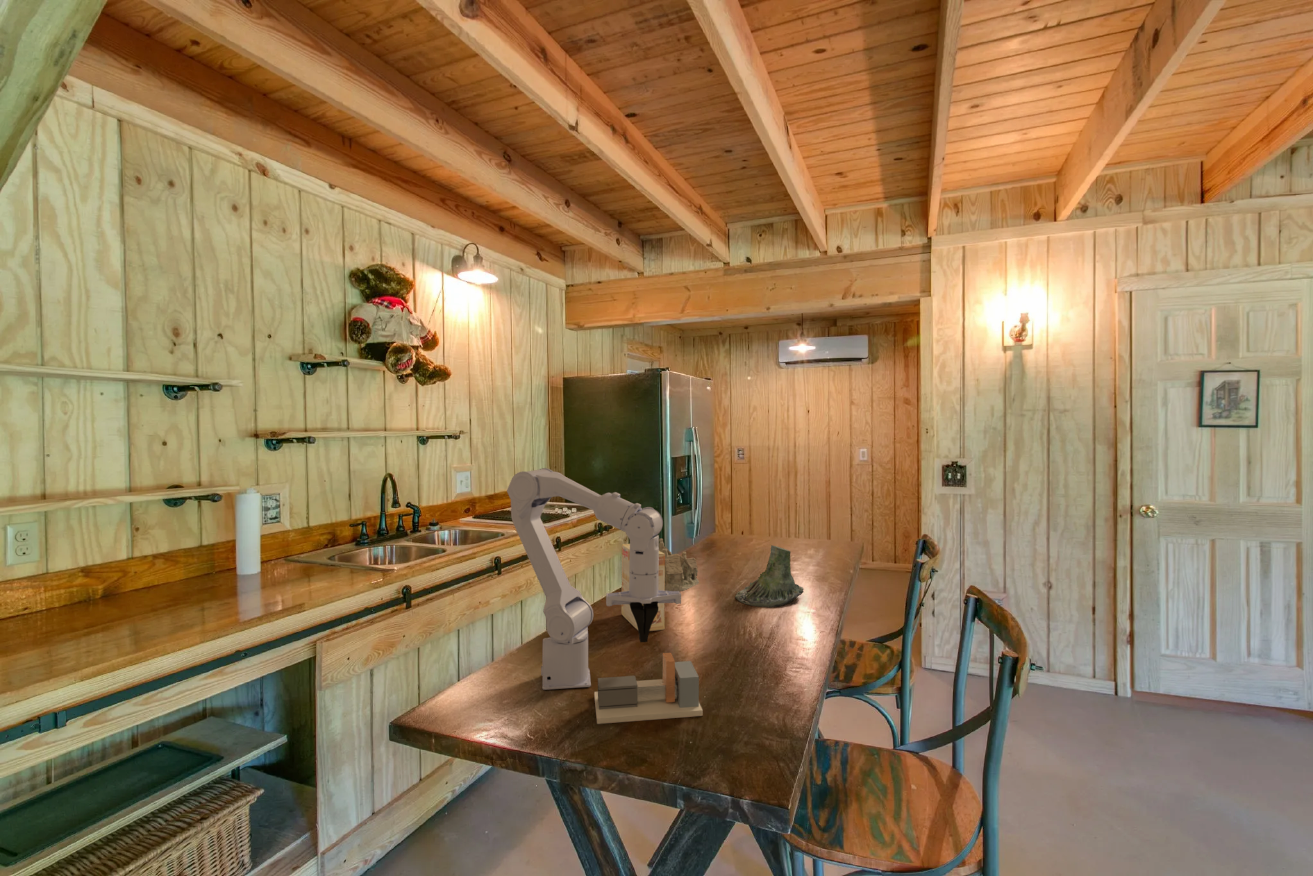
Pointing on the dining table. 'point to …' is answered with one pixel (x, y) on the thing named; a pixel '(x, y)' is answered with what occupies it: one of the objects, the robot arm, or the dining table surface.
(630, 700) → the cream rectangular panel
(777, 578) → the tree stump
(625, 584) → the coffeecake box
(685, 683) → the socket block
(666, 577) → the ceramic cottage
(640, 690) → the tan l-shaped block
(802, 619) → the dining table surface
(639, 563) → the robot arm
